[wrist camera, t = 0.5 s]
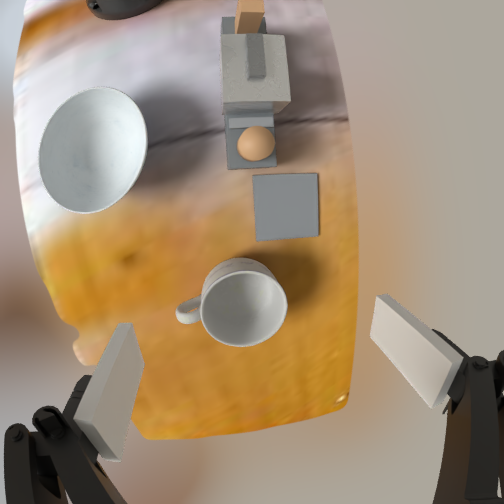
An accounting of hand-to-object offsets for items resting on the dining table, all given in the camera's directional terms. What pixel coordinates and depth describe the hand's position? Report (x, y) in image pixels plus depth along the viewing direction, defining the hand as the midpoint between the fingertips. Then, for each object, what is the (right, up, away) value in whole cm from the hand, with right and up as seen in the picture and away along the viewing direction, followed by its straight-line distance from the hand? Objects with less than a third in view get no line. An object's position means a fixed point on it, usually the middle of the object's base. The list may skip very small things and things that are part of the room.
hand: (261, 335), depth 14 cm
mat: (+4, +10, +24) cm, 27 cm away
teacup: (-4, -1, +27) cm, 27 cm away
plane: (-2, +25, +19) cm, 32 cm away
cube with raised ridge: (-1, +24, +14) cm, 28 cm away
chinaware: (-20, +18, +19) cm, 33 cm away
